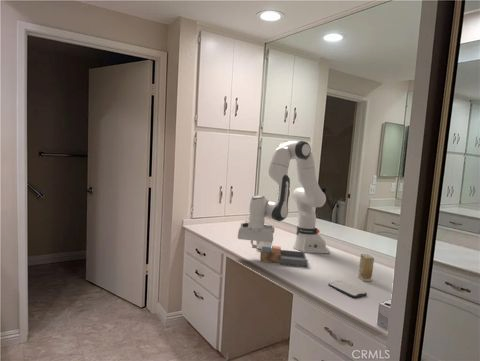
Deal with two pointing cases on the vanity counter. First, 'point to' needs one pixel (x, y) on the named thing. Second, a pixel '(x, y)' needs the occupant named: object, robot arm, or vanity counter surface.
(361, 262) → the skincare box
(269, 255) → the cardboard box
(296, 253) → the tray
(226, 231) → the vanity counter surface
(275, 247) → the tile
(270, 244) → the lidded jar
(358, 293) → the phone case
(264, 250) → the tile
